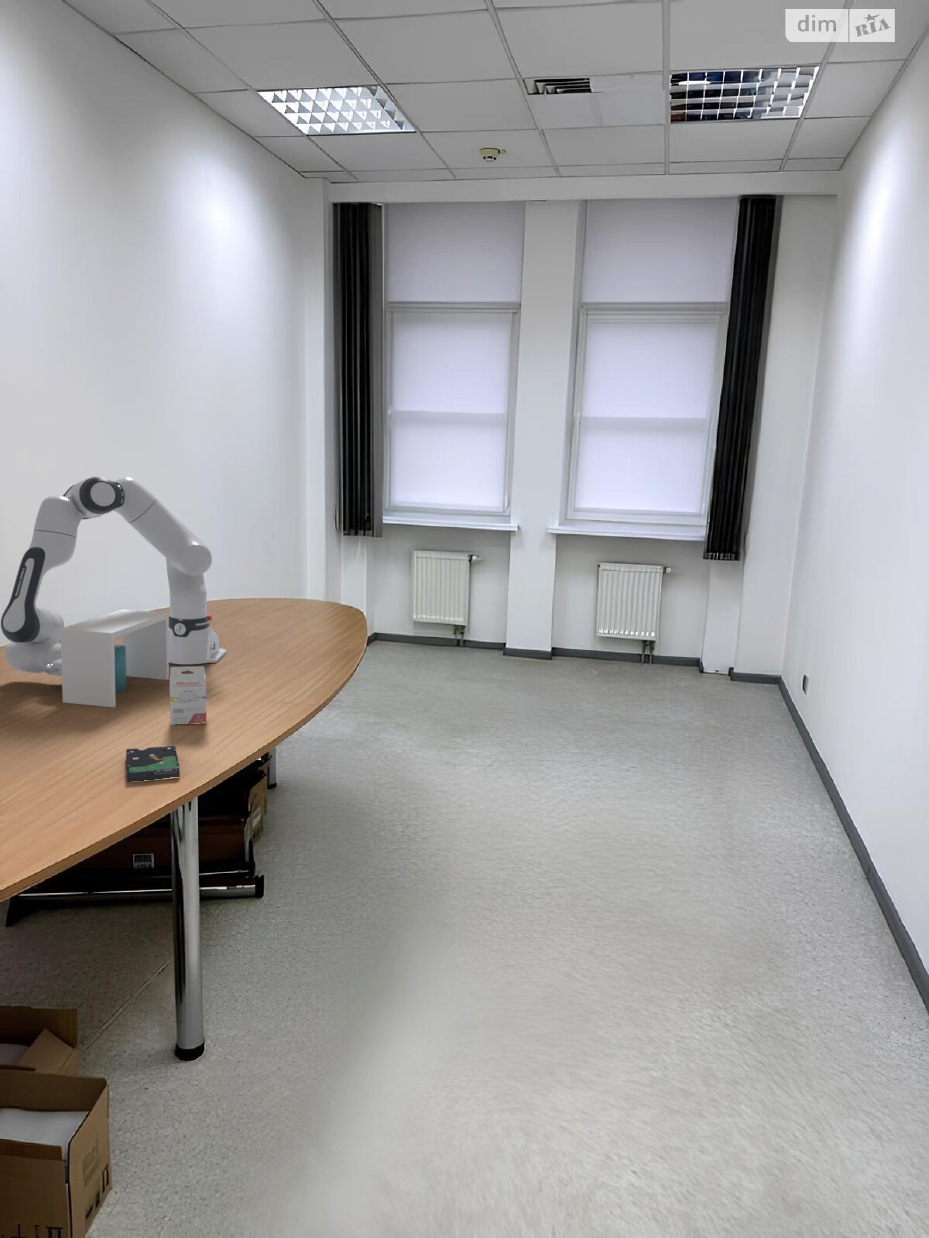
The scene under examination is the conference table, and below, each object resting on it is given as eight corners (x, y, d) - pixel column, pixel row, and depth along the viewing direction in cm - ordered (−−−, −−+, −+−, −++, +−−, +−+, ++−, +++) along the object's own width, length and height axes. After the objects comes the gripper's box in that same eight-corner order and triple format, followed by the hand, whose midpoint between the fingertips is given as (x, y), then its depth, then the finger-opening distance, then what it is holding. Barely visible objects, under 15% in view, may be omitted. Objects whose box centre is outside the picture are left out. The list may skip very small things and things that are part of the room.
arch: (123, 674, 252) (122, 609, 248) (168, 678, 250) (168, 613, 246) (62, 702, 222) (60, 628, 219) (113, 707, 221) (111, 633, 217)
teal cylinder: (111, 686, 239) (110, 644, 237) (130, 687, 239) (129, 646, 237) (100, 691, 234) (99, 648, 232) (119, 693, 233) (118, 650, 231)
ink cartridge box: (206, 718, 216) (206, 661, 214) (206, 724, 212) (206, 666, 209) (170, 719, 214) (170, 662, 211) (169, 725, 209) (169, 667, 206)
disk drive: (125, 761, 186) (127, 785, 173) (125, 748, 186) (127, 772, 172) (175, 757, 190) (181, 780, 177) (175, 745, 190) (180, 767, 176)
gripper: (40, 657, 226) (89, 661, 224) (84, 641, 246) (129, 645, 244) (41, 680, 227) (89, 685, 225) (85, 663, 247) (130, 667, 245)
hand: (110, 664), depth 235 cm, fingers open, 8 cm apart
